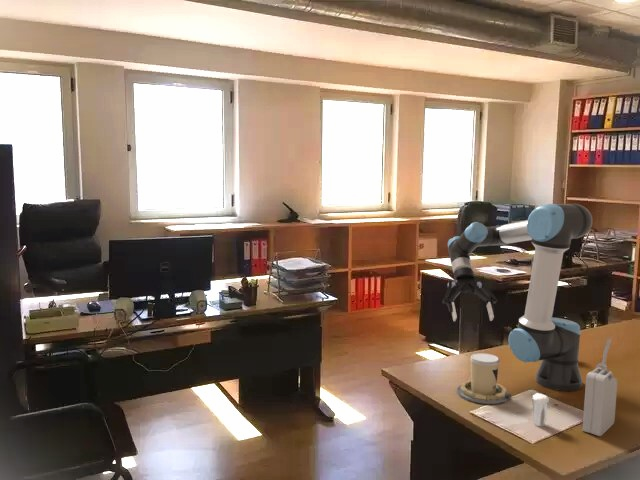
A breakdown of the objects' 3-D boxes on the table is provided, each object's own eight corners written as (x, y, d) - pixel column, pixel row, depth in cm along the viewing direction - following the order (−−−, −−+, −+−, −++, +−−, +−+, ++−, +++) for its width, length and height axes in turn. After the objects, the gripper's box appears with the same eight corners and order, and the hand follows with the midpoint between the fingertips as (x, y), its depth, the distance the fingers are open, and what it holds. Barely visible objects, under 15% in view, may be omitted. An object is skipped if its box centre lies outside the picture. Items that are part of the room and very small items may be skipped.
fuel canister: (599, 415, 169) (605, 336, 166) (617, 420, 166) (623, 340, 163) (581, 431, 158) (587, 348, 155) (599, 437, 155) (606, 352, 152)
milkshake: (525, 421, 165) (527, 389, 164) (542, 420, 165) (544, 388, 164) (532, 428, 160) (534, 395, 159) (550, 427, 161) (552, 395, 159)
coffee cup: (499, 398, 179) (501, 363, 178) (469, 395, 181) (471, 360, 180) (496, 387, 188) (497, 354, 187) (468, 385, 190) (469, 351, 189)
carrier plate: (512, 389, 189) (512, 383, 188) (506, 408, 173) (507, 401, 173) (462, 381, 196) (462, 375, 195) (452, 399, 180) (453, 392, 180)
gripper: (492, 277, 216) (504, 324, 203) (429, 277, 216) (437, 324, 202) (497, 266, 210) (510, 313, 197) (433, 266, 210) (441, 314, 197)
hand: (473, 319), depth 200 cm, fingers open, 13 cm apart
